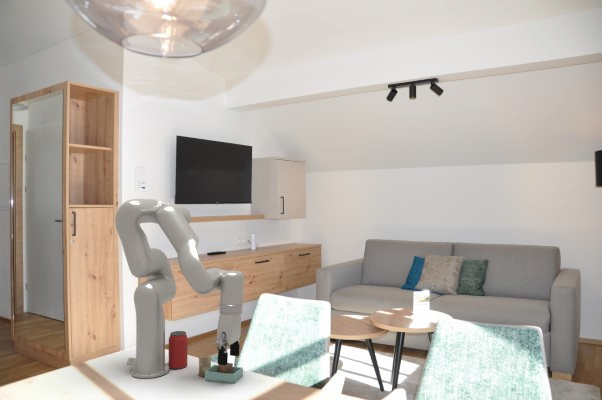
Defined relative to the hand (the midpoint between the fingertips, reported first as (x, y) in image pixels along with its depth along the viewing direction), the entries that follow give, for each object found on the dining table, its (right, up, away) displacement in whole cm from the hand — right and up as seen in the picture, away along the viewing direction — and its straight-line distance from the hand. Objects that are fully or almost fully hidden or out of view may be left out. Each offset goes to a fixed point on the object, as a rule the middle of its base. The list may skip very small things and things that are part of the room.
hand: (228, 360), depth 162 cm
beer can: (-20, -7, +12) cm, 24 cm away
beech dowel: (-9, -6, +4) cm, 11 cm away
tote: (-2, -6, 0) cm, 7 cm away
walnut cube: (+1, -4, 0) cm, 4 cm away
